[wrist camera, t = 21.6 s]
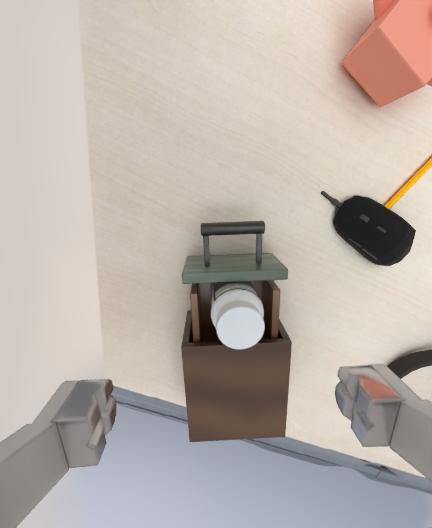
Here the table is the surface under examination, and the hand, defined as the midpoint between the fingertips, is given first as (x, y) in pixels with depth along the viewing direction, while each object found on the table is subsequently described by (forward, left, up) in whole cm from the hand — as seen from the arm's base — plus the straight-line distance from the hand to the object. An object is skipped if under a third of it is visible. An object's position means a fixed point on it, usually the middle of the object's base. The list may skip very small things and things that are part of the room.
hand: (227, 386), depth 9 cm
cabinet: (+2, -17, -25) cm, 31 cm away
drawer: (+2, -6, -24) cm, 25 cm away
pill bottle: (+2, -6, -23) cm, 24 cm away
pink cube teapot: (+19, +21, -25) cm, 38 cm away
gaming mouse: (+20, +2, -25) cm, 32 cm away
